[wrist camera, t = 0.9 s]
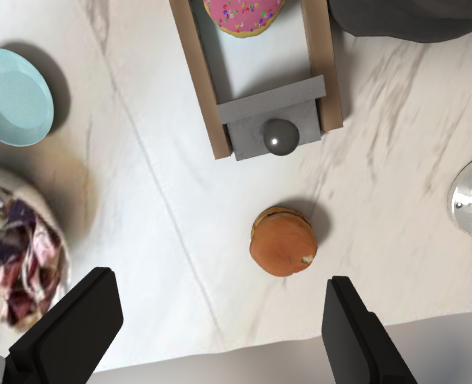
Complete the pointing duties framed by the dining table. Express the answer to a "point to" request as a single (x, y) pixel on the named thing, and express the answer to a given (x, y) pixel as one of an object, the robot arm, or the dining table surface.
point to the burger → (282, 241)
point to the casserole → (404, 18)
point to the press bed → (204, 87)
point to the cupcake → (243, 15)
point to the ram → (274, 119)
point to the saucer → (23, 101)
